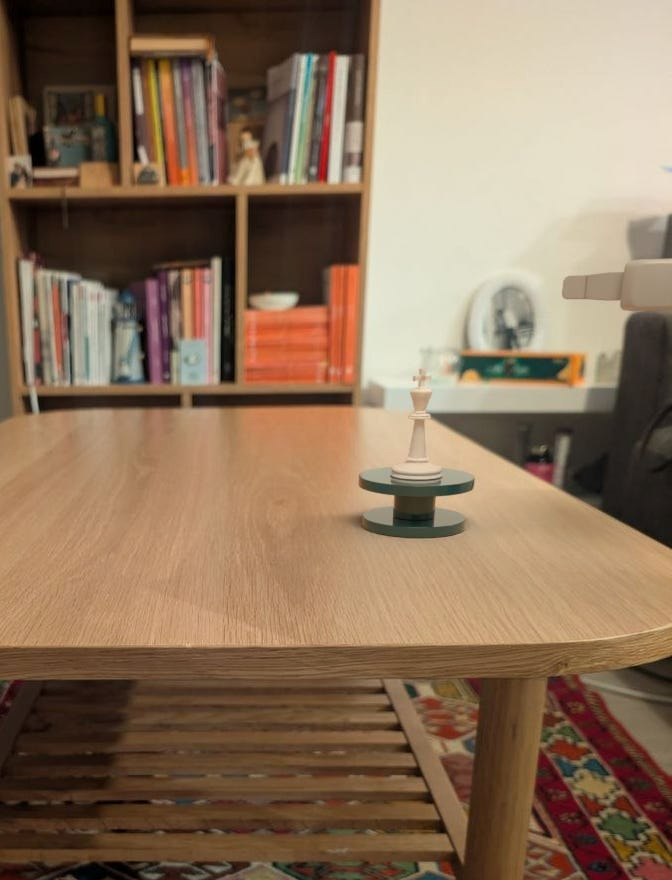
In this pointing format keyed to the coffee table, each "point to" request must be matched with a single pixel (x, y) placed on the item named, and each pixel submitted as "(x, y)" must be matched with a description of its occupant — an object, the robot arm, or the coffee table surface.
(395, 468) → the chess piece
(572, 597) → the coffee table surface
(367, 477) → the stand
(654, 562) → the coffee table surface
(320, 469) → the coffee table surface
